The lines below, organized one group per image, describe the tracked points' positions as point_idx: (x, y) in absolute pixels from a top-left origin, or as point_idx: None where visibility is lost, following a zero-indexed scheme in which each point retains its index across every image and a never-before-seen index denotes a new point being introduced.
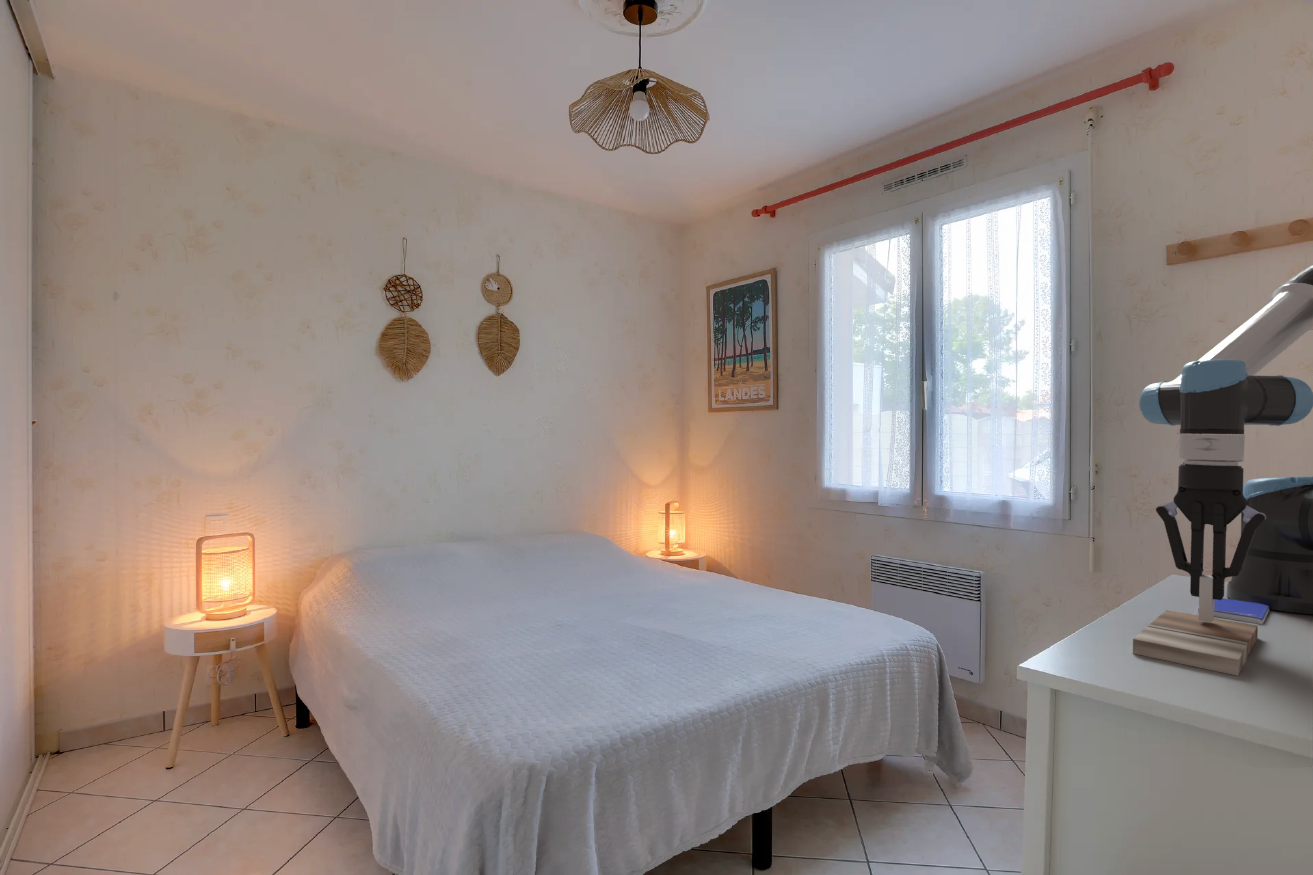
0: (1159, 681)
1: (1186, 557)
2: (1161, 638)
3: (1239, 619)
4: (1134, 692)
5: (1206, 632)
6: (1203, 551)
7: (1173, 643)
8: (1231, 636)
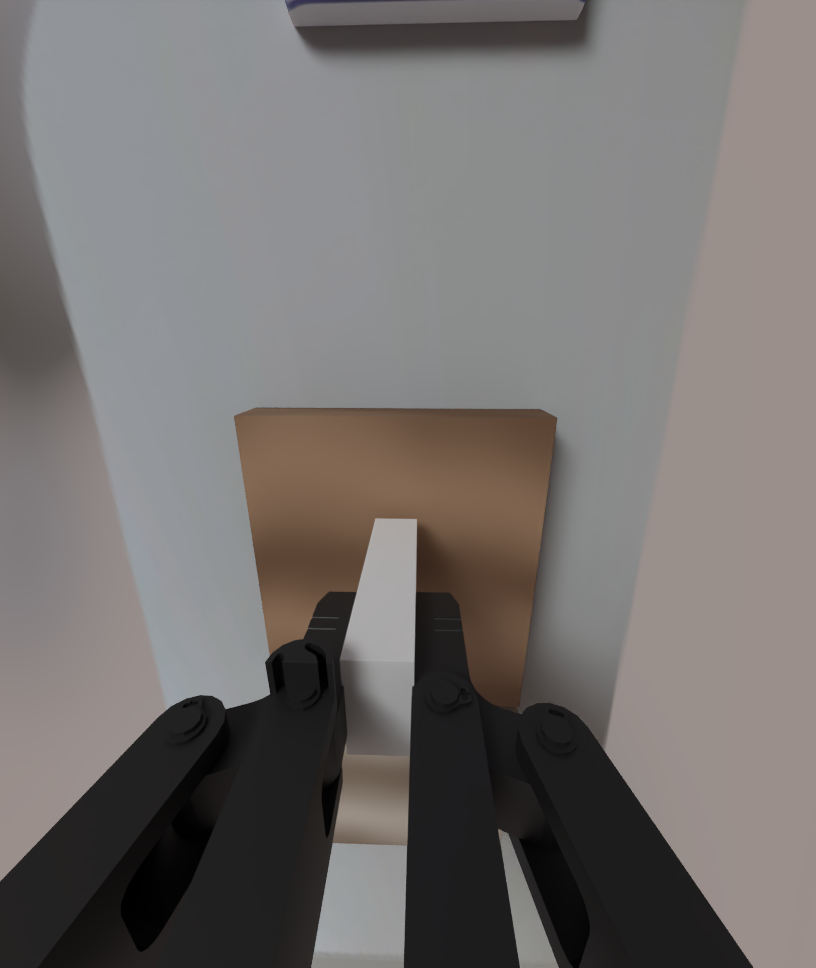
0: (389, 898)
1: (173, 792)
2: (342, 802)
3: (479, 20)
4: (373, 948)
5: None
6: (284, 918)
7: (373, 822)
8: (479, 669)
